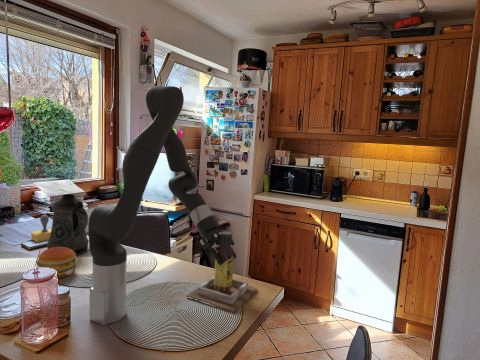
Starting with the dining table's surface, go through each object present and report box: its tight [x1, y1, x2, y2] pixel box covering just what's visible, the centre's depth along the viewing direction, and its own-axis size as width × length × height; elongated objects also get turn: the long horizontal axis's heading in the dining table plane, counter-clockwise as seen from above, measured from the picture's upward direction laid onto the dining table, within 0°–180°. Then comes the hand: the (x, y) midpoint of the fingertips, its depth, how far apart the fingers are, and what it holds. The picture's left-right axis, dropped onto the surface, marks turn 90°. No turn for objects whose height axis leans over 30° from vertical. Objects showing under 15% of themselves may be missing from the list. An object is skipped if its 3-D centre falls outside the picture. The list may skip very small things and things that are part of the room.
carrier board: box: [186, 275, 258, 314], centre depth 116 cm, size 18×18×4 cm
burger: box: [36, 247, 78, 279], centre depth 124 cm, size 14×14×10 cm
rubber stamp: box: [30, 214, 52, 243], centre depth 160 cm, size 10×6×12 cm, turn 146°
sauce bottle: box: [213, 230, 235, 292], centre depth 115 cm, size 6×6×20 cm
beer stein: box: [46, 193, 89, 255], centre depth 147 cm, size 16×19×25 cm
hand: (228, 261), depth 114 cm, fingers closed on sauce bottle, 6 cm apart
